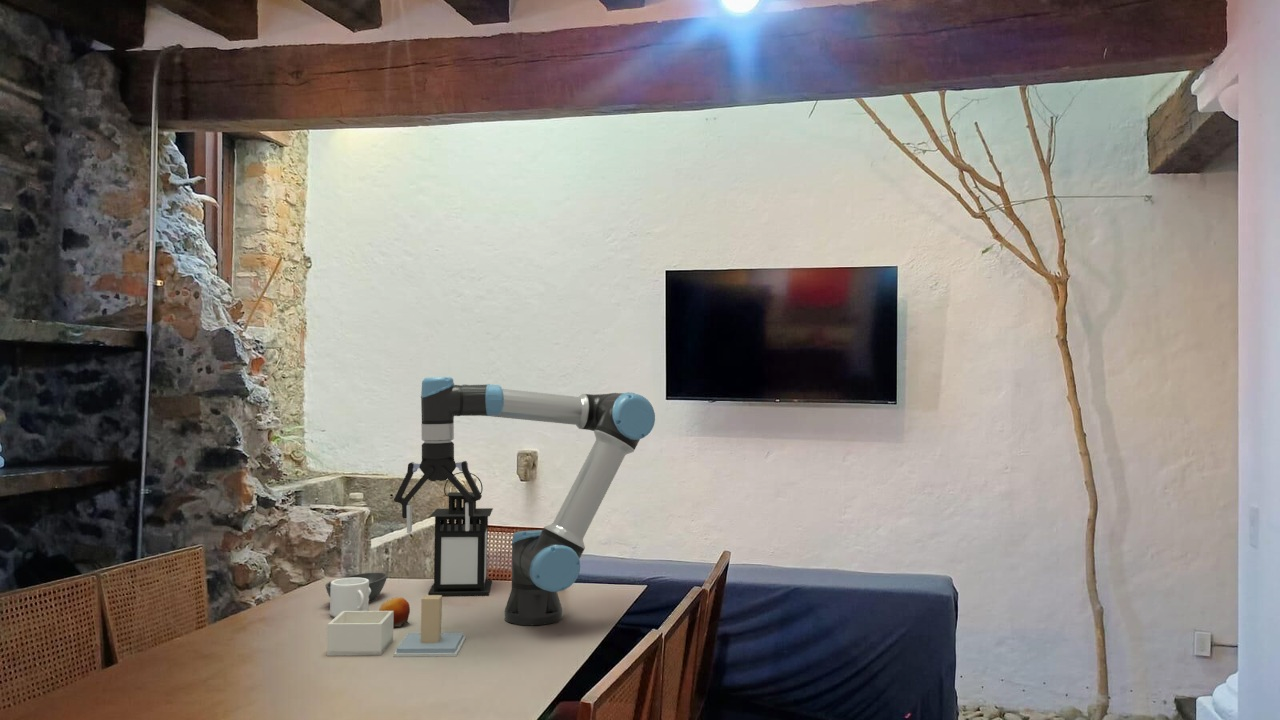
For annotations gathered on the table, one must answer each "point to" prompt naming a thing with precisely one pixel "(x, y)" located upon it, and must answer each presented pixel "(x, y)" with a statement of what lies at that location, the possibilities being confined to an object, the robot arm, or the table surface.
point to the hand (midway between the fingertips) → (438, 531)
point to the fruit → (397, 610)
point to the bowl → (374, 583)
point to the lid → (430, 631)
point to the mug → (349, 595)
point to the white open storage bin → (360, 633)
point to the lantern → (460, 550)
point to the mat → (430, 653)
